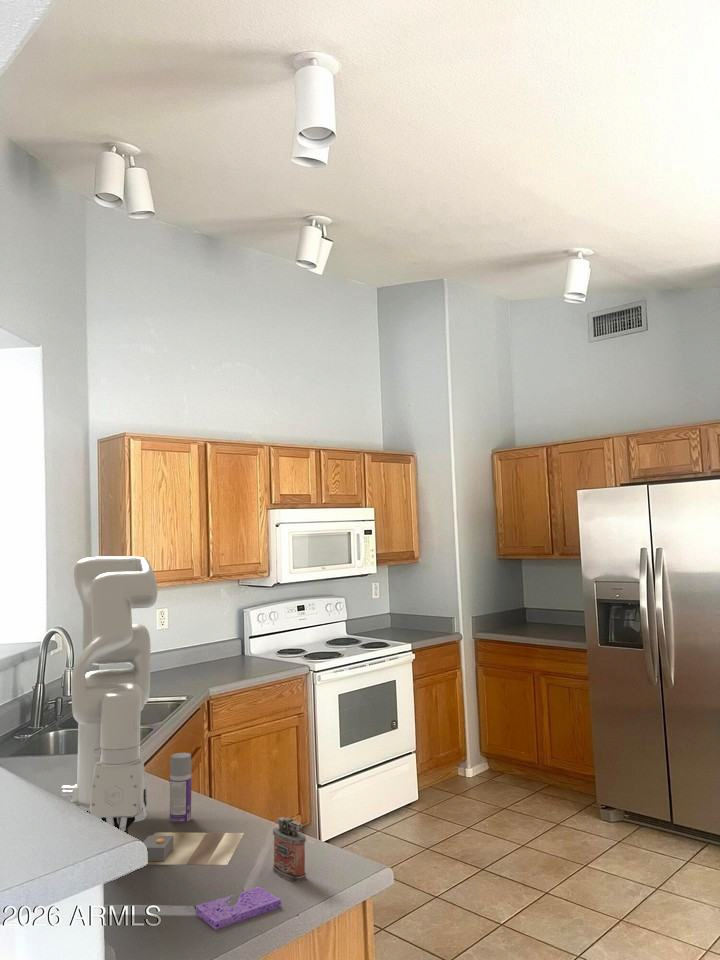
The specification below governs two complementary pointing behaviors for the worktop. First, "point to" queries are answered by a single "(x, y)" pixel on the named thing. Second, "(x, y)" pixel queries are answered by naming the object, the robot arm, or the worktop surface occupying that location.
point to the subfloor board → (200, 848)
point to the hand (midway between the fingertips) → (118, 850)
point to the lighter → (289, 850)
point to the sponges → (237, 907)
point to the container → (180, 788)
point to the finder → (159, 847)
